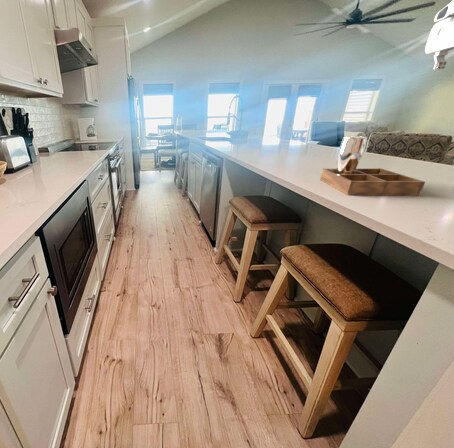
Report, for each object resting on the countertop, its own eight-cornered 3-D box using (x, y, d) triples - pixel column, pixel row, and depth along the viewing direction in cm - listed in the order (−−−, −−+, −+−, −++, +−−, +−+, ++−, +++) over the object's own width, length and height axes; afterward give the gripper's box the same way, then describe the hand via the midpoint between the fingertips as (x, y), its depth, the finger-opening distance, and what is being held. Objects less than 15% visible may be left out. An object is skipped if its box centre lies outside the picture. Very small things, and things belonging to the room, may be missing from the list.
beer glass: (337, 182, 85) (349, 138, 79) (327, 178, 91) (338, 136, 85) (359, 183, 84) (373, 137, 77) (348, 178, 90) (360, 135, 84)
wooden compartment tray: (377, 179, 90) (381, 168, 88) (419, 195, 72) (425, 181, 71) (320, 179, 93) (322, 168, 91) (347, 194, 76) (351, 181, 74)
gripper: (551, -23, 49) (512, 57, 55) (456, 14, 68) (435, 71, 73) (512, -19, 51) (479, 59, 56) (430, 16, 69) (411, 73, 75)
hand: (453, 66), depth 65 cm, fingers open, 8 cm apart
